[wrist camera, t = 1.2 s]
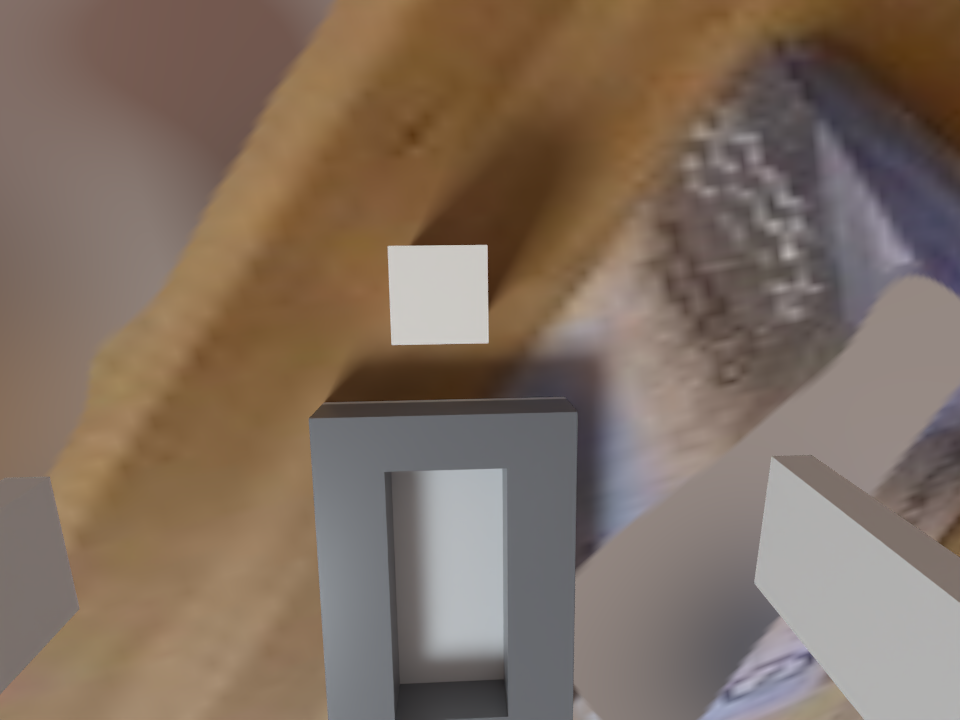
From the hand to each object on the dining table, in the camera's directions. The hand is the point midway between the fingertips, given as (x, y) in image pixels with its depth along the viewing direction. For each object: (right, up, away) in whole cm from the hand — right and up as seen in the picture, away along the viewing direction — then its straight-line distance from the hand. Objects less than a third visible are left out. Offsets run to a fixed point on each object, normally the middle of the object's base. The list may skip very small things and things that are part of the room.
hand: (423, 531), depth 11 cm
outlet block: (-1, -9, +24) cm, 26 cm away
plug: (-1, +7, +21) cm, 23 cm away
